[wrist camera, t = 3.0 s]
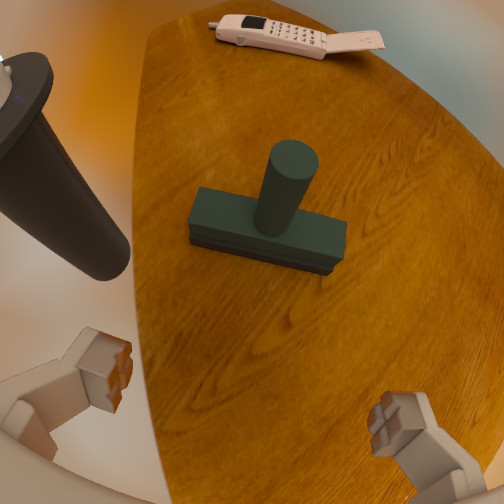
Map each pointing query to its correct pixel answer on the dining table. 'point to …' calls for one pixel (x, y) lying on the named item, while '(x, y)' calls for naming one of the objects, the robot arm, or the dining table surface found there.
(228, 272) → the dining table surface
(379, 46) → the mobile phone
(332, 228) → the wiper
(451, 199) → the dining table surface
